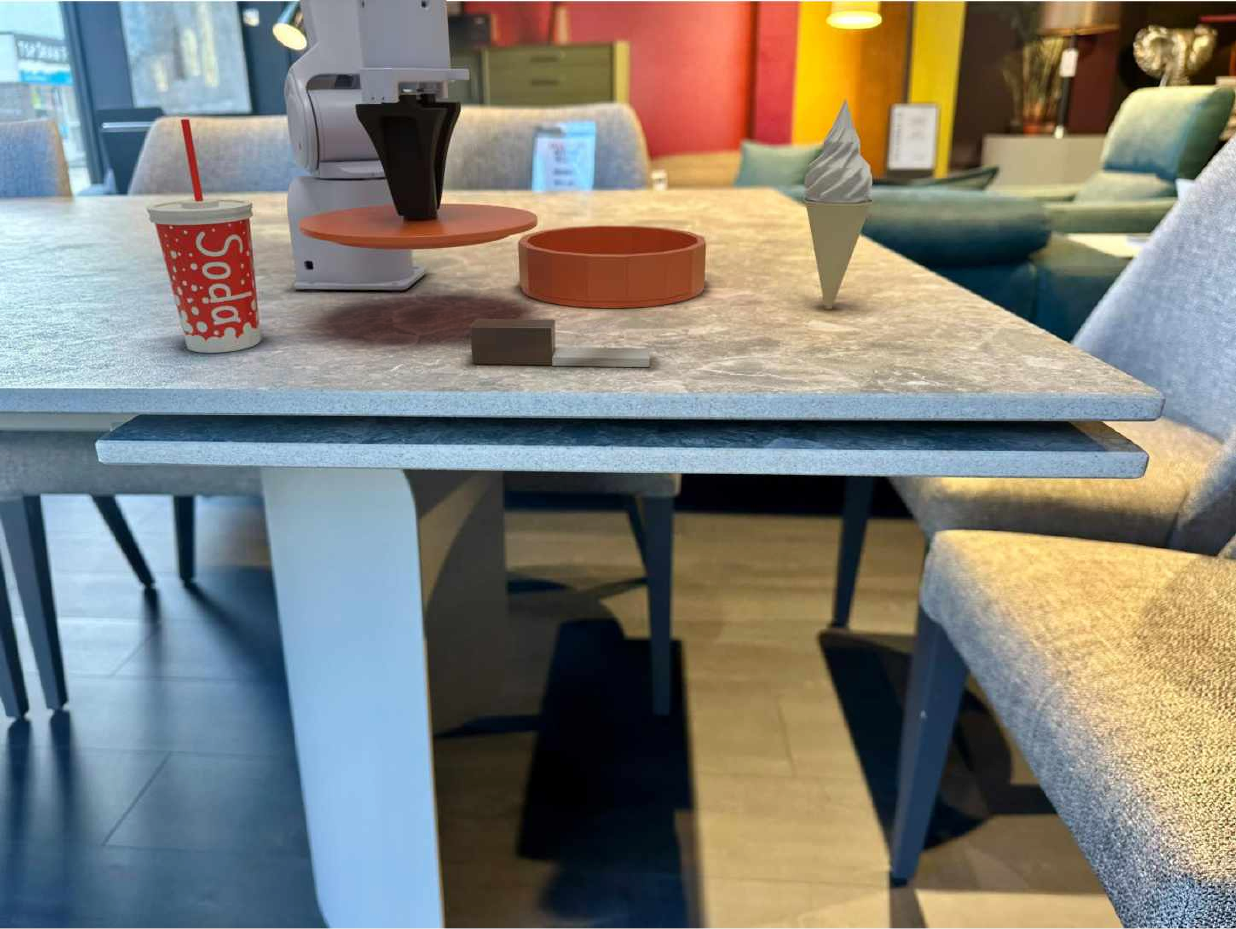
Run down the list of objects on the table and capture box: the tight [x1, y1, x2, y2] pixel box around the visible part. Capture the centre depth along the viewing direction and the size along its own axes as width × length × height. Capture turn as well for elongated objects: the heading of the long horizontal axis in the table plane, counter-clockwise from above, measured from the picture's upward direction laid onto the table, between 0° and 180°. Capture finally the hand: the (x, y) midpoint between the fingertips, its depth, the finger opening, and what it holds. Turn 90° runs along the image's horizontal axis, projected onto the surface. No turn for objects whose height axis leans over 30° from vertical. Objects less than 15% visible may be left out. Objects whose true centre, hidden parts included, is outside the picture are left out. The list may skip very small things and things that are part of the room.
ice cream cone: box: [803, 98, 874, 310], centre depth 67 cm, size 5×5×15 cm
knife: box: [469, 318, 651, 368], centre depth 56 cm, size 11×2×2 cm, turn 87°
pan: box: [517, 224, 707, 309], centre depth 76 cm, size 15×15×4 cm
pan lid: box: [298, 174, 539, 250], centre depth 63 cm, size 16×16×5 cm
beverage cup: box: [146, 118, 262, 354], centre depth 58 cm, size 6×6×14 cm
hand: (419, 212), depth 63 cm, fingers closed on pan lid, 2 cm apart
